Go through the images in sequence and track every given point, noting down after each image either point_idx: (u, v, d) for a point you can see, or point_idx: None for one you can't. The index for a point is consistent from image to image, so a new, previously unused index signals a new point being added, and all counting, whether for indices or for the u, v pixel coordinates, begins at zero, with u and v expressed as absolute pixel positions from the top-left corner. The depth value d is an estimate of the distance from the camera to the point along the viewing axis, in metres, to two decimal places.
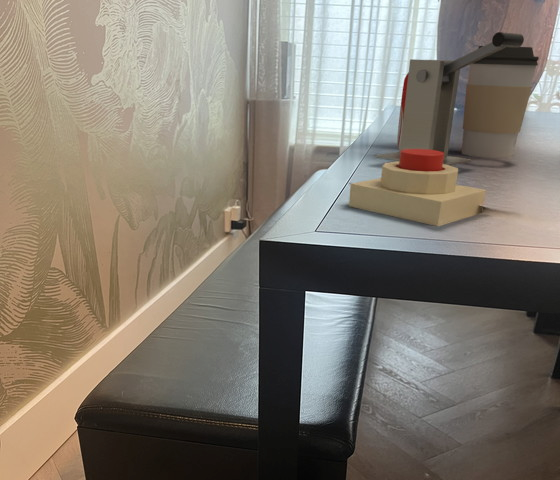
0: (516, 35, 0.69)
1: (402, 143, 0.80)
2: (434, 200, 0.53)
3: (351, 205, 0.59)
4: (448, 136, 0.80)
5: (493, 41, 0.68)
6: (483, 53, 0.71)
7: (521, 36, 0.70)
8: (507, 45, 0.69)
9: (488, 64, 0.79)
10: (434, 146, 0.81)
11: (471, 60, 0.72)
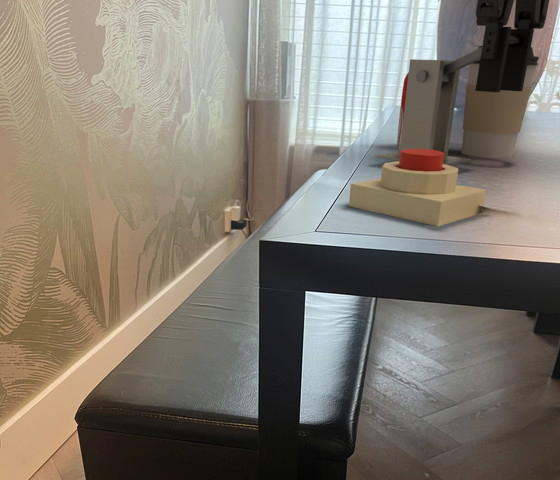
0: (516, 35, 0.69)
1: (402, 143, 0.80)
2: (434, 200, 0.53)
3: (351, 205, 0.59)
4: (448, 136, 0.80)
5: None
6: None
7: (521, 36, 0.70)
8: None
9: None
10: (434, 146, 0.81)
11: (471, 60, 0.72)
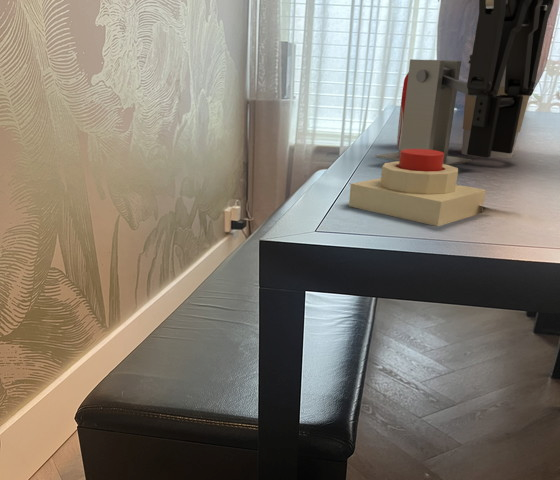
0: (510, 101, 0.72)
1: (402, 143, 0.80)
2: (434, 200, 0.53)
3: (351, 205, 0.59)
4: (448, 136, 0.80)
5: None
6: None
7: (515, 101, 0.73)
8: None
9: None
10: (434, 146, 0.81)
11: (466, 93, 0.74)
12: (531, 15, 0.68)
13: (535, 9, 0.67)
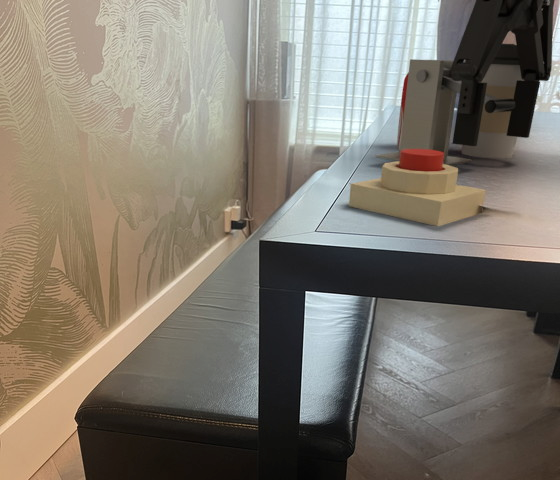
0: (509, 105, 0.72)
1: (402, 143, 0.80)
2: (434, 200, 0.53)
3: (351, 205, 0.59)
4: (448, 136, 0.80)
5: (486, 104, 0.71)
6: None
7: (513, 105, 0.73)
8: (495, 112, 0.72)
9: None
10: (434, 146, 0.81)
11: None
12: (533, 18, 0.69)
13: (536, 13, 0.68)
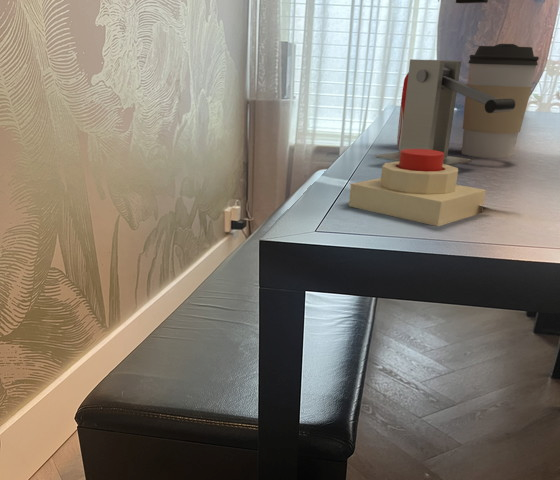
0: (509, 105, 0.72)
1: (402, 143, 0.80)
2: (434, 200, 0.53)
3: (351, 205, 0.59)
4: (448, 136, 0.80)
5: (486, 104, 0.71)
6: (477, 99, 0.73)
7: (513, 105, 0.73)
8: (495, 112, 0.72)
9: (488, 64, 0.79)
10: (434, 146, 0.81)
11: (466, 95, 0.74)
12: None
13: None
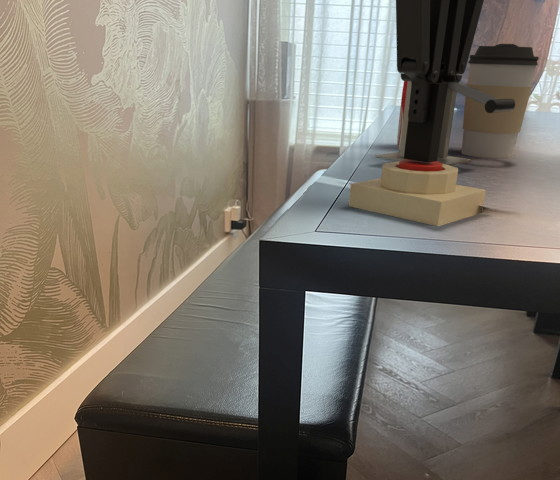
0: (509, 105, 0.72)
1: (402, 143, 0.80)
2: (434, 200, 0.53)
3: (351, 205, 0.59)
4: (448, 136, 0.80)
5: (486, 104, 0.71)
6: (477, 99, 0.73)
7: (513, 105, 0.73)
8: (495, 112, 0.72)
9: (488, 64, 0.79)
10: None
11: (466, 95, 0.74)
12: None
13: None
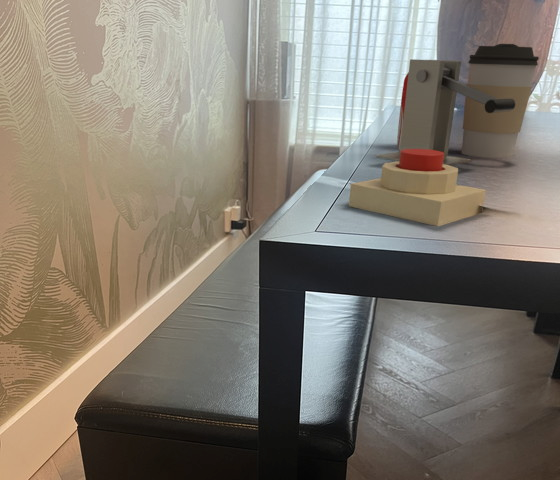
0: (509, 105, 0.72)
1: (402, 143, 0.80)
2: (434, 200, 0.53)
3: (351, 205, 0.59)
4: (448, 136, 0.80)
5: (486, 104, 0.71)
6: (477, 99, 0.73)
7: (513, 105, 0.73)
8: (495, 112, 0.72)
9: (488, 64, 0.79)
10: (434, 146, 0.81)
11: (466, 95, 0.74)
12: None
13: None
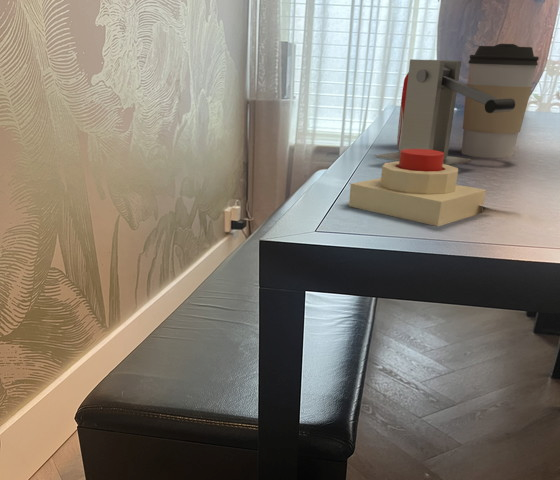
0: (509, 105, 0.72)
1: (402, 143, 0.80)
2: (434, 200, 0.53)
3: (351, 205, 0.59)
4: (448, 136, 0.80)
5: (486, 104, 0.71)
6: (477, 99, 0.73)
7: (513, 105, 0.73)
8: (495, 112, 0.72)
9: (488, 64, 0.79)
10: (434, 146, 0.81)
11: (466, 95, 0.74)
12: None
13: None
